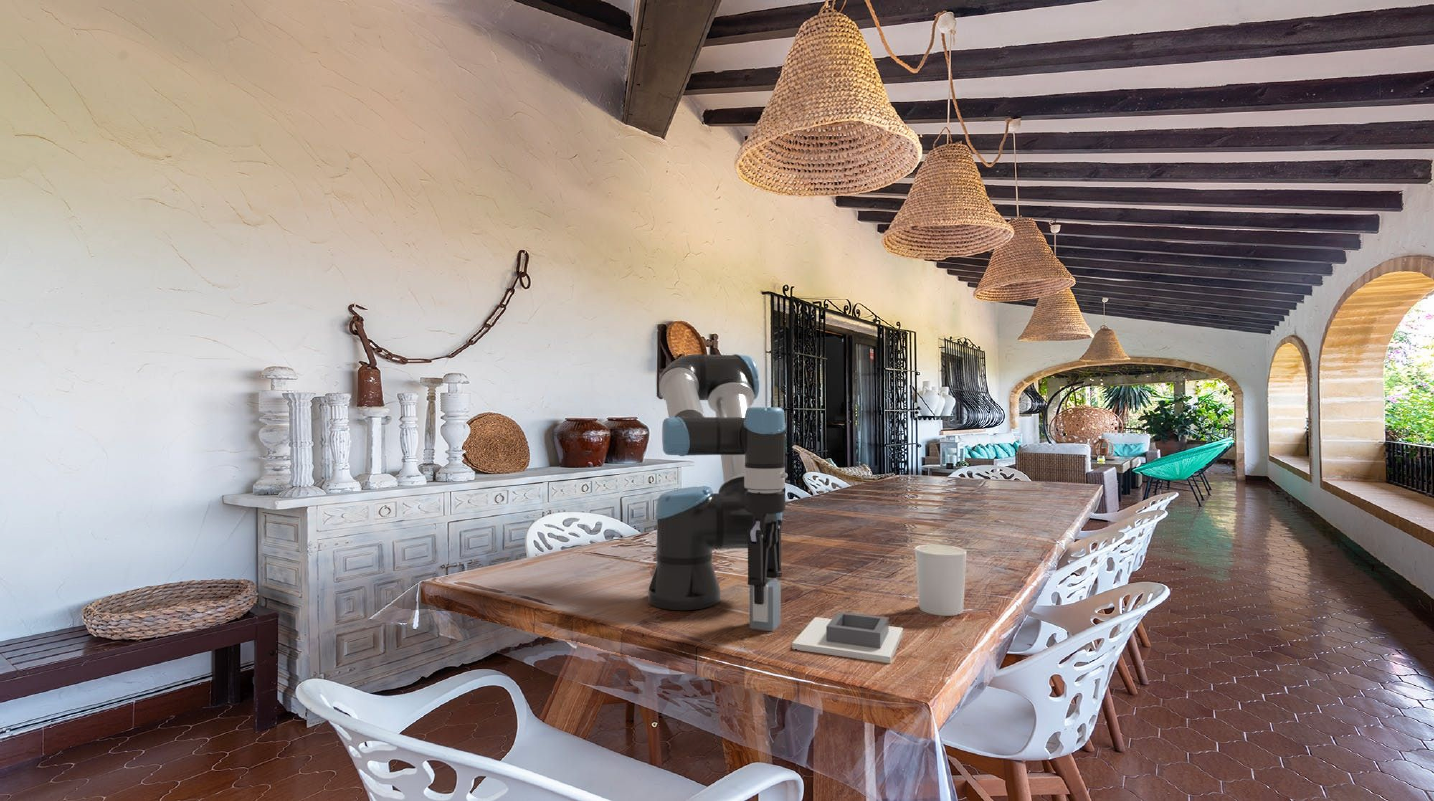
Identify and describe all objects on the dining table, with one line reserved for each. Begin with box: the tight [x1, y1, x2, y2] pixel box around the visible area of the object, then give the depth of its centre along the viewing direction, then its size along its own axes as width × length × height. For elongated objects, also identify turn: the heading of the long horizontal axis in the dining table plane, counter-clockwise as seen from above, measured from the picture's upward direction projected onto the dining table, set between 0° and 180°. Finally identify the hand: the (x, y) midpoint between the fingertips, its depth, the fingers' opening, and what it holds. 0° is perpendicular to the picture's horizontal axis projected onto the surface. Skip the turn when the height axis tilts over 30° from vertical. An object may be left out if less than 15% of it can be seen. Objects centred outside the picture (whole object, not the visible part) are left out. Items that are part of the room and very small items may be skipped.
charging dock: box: [791, 611, 904, 664], centre depth 114 cm, size 16×15×4 cm
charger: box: [749, 579, 782, 632], centre depth 122 cm, size 4×4×8 cm
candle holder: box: [914, 544, 968, 617], centre depth 132 cm, size 10×10×12 cm
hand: (765, 616), depth 122 cm, fingers closed on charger, 4 cm apart
